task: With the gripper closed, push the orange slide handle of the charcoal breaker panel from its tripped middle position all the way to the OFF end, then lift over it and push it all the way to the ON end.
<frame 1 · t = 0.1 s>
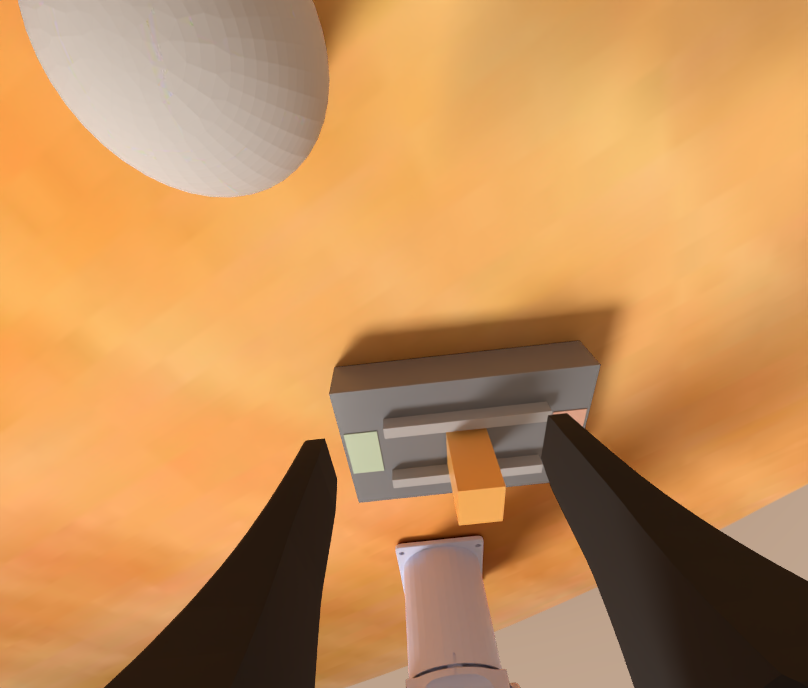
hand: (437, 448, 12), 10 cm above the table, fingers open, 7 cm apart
breaker panel: (457, 414, 24), on the table
light bulb: (277, 85, 14), on the table
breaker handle: (473, 474, 20), point 5 cm above the table, slide at 0.0 cm
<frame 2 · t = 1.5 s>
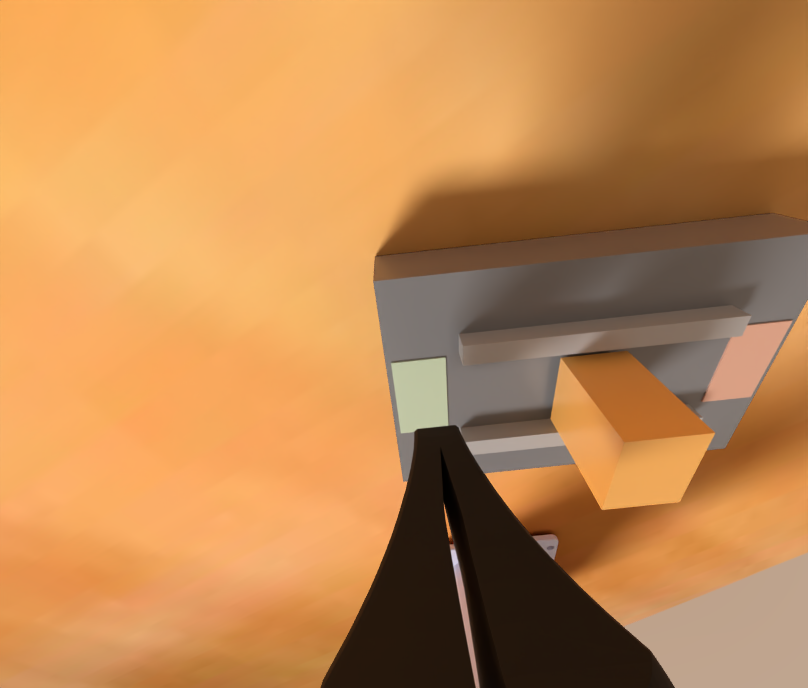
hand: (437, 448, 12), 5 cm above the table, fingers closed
breaker panel: (555, 346, 16), on the table
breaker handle: (615, 424, 12), point 5 cm above the table, slide at 0.0 cm
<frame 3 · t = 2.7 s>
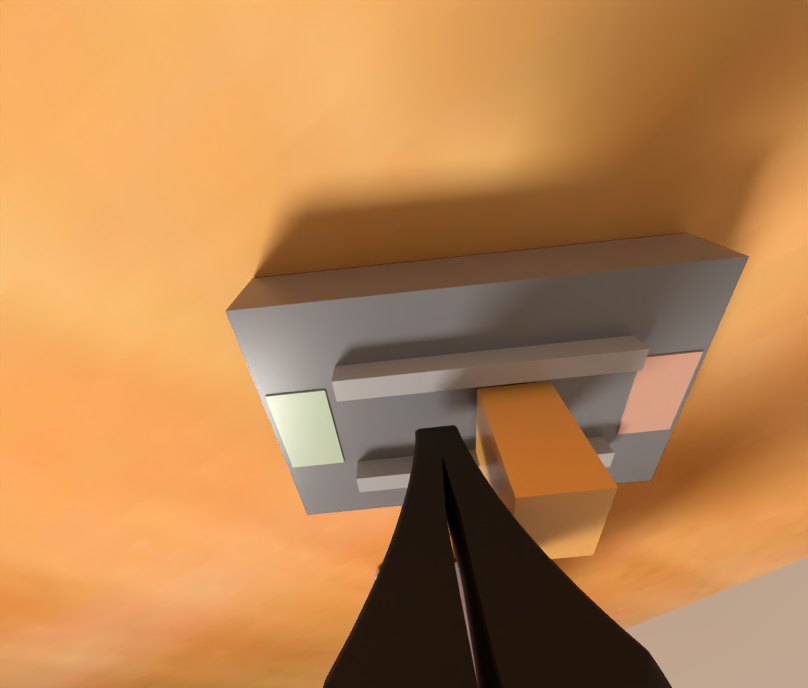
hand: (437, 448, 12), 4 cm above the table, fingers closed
breaker panel: (467, 371, 15), on the table
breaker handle: (530, 464, 11), point 5 cm above the table, slide at -0.9 cm, touching gripper
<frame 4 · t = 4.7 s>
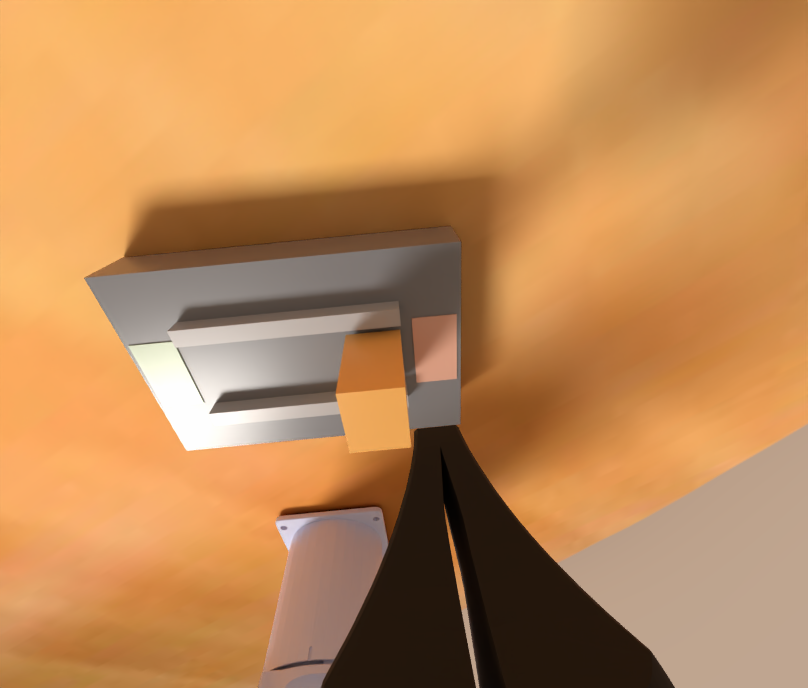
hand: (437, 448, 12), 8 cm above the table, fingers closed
breaker panel: (311, 335, 19), on the table
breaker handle: (376, 387, 15), point 5 cm above the table, slide at -3.6 cm
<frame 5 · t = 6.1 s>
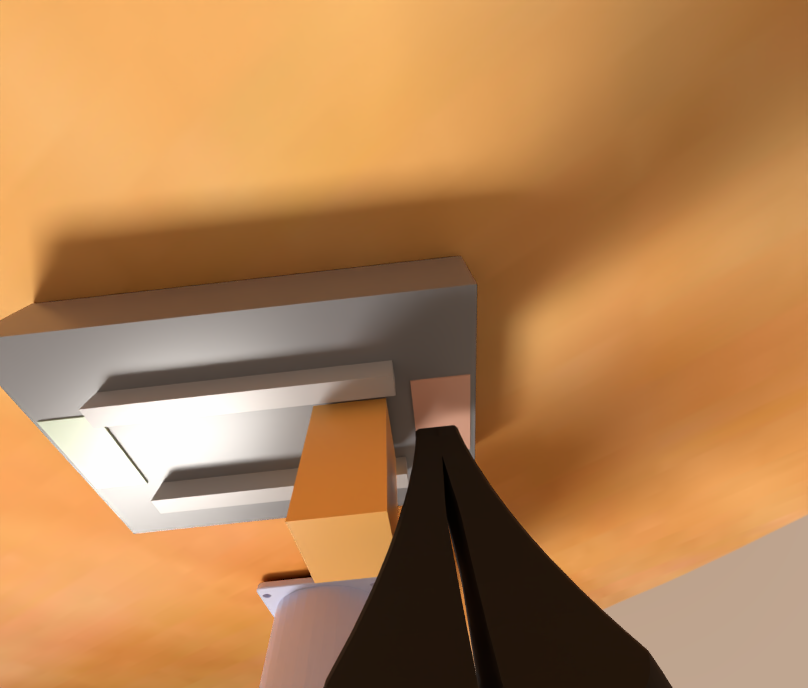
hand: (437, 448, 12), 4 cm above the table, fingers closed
breaker panel: (284, 390, 15), on the table
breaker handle: (353, 483, 11), point 5 cm above the table, slide at -3.2 cm, touching gripper
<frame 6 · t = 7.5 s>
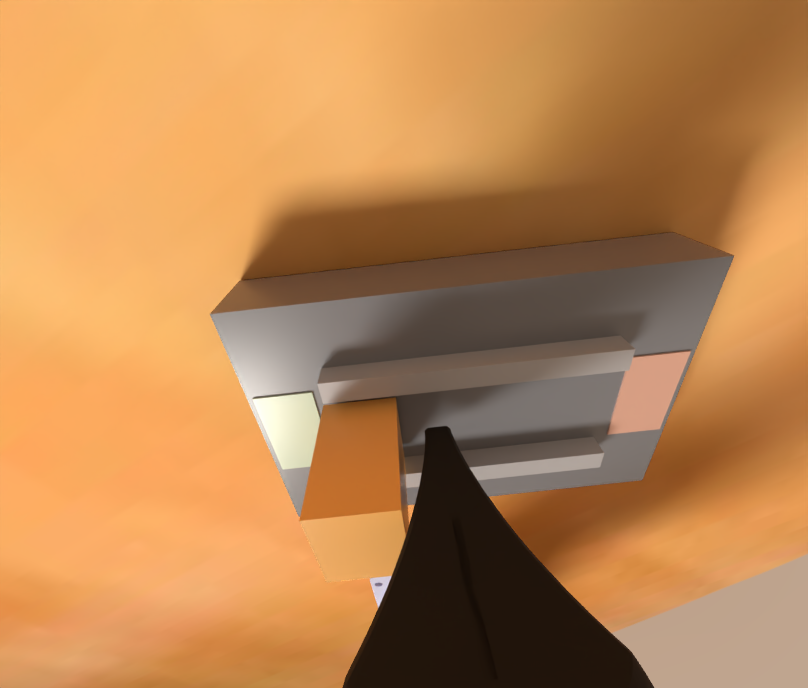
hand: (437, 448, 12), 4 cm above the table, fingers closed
breaker panel: (457, 372, 15), on the table
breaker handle: (364, 482, 11), point 5 cm above the table, slide at 3.7 cm, touching gripper
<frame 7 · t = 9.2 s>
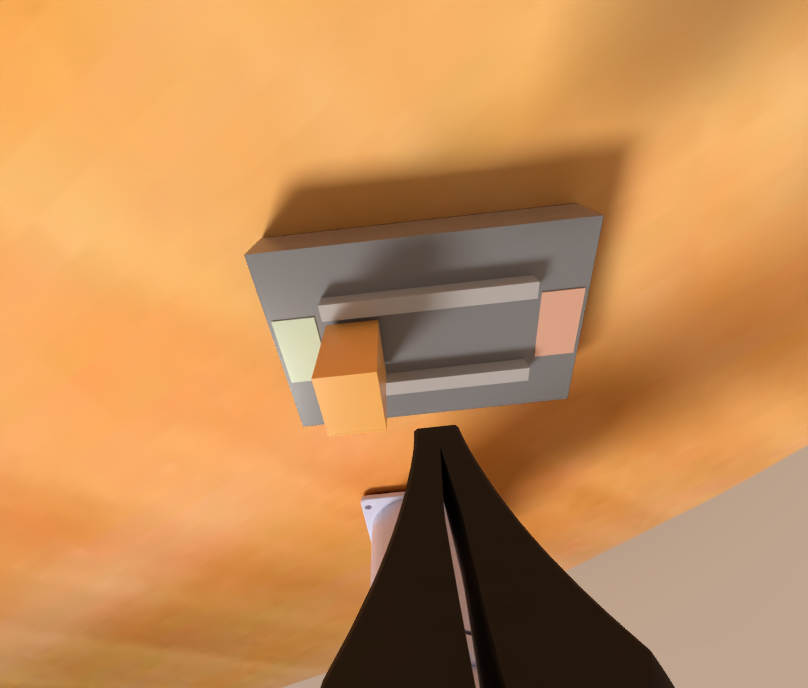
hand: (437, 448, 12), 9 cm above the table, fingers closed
breaker panel: (424, 313, 20), on the table
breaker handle: (354, 374, 15), point 5 cm above the table, slide at 3.6 cm
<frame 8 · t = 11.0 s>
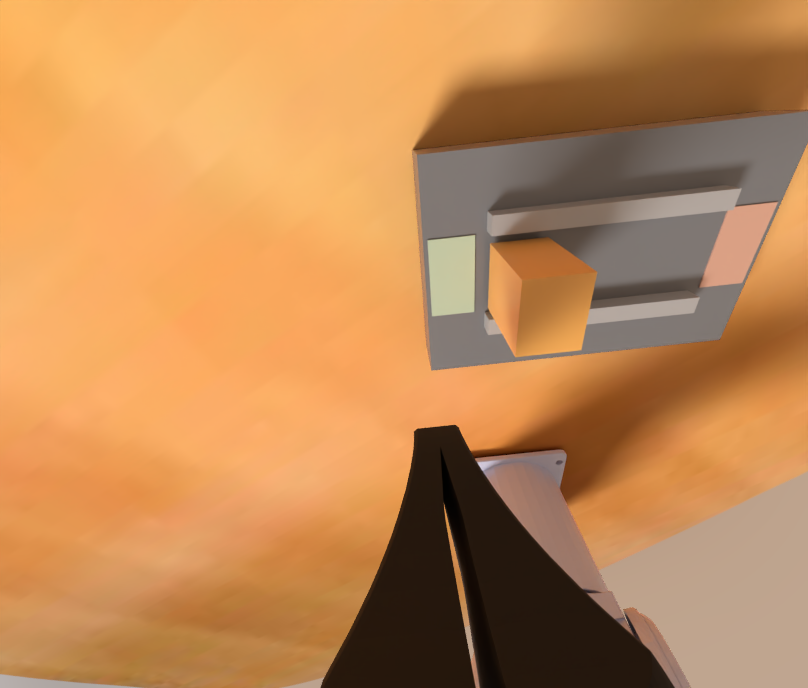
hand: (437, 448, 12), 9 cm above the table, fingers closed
breaker panel: (568, 245, 18), on the table
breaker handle: (532, 293, 14), point 5 cm above the table, slide at 3.6 cm
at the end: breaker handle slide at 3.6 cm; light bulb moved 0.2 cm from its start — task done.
